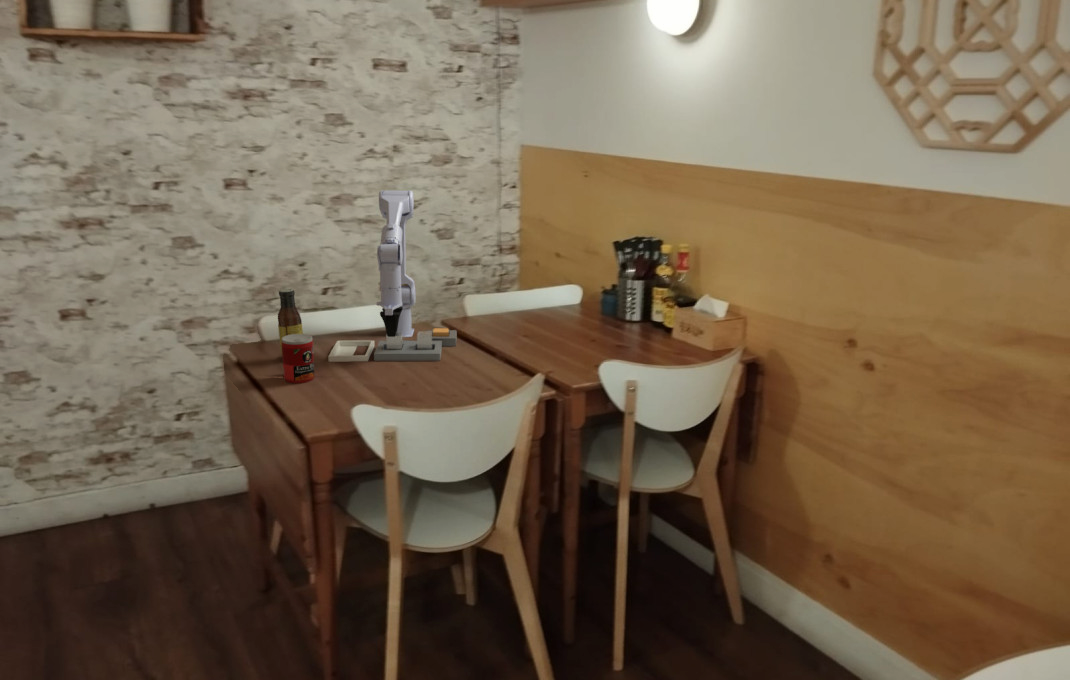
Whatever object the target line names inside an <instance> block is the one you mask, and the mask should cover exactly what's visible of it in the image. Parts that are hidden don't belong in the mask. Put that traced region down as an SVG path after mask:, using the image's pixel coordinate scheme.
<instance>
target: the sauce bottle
mask: <svg viewBox="0 0 1070 680" xmlns="http://www.w3.org/2000/svg"><path fill="white" fill-rule="evenodd" d="M278 296H279V299H280V300H279V301H280V307H279V310H278V313H277V322H278V323H277V324H278V325H277V326H278V328H277V329H278V336H279V345H280V354H281V357H282V343H281V340H282V337H284V336H287V335H292V334H304V331H303V323H302V322H303V321H302V316H301V314H300V312H299V311H298V309H297V306H296V303H295V301H296V300H295V289H292V288H283V289H279V290H278ZM281 360H283V358H282V359H281Z"/></svg>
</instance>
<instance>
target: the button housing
mask: <svg viewBox="0 0 1070 680" xmlns="http://www.w3.org/2000/svg"><path fill="white" fill-rule="evenodd" d="M433 330H434V329H432V330H429V329H428V330H426V331H432V341H442V347H456V346H457V340H458V339H457V337H458V336H457V333H458V332H457V329H452V330H451V329H449V337H433Z"/></svg>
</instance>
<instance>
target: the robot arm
mask: <svg viewBox="0 0 1070 680" xmlns="http://www.w3.org/2000/svg"><path fill="white" fill-rule="evenodd" d="M414 200H415V199H414V192H413V191H412V190H411V189H409V190H385V189H384V190H383V189H380V191H379V193H378V208H379V211H380V214H381V216H382V218H383V219H385V220H386V225H384V226H383V227H382V228H381V235H380V245H377V251H376V254H377V255H376V257H377V263H378V271H379V278H380V279H379V286H380V287H379V288H380V301H377V302H376V306H378V307H382V308H381V309H382V311H380V312H379V315H380V318H381V319H382V322H383V325H384V327H385V328H384V329H385V332H386V333H385V337H386V338H387V336H388V337H395V335H396V332H402V338H405V337H406V338H409V337H411V338H412V337H413V335H414V333H415V328H412V327H413V325H412V306H415V304H416V291H417V290H416V283H415V281H414V279H413V278H412V277H410V276H409V275H407V269H406V268H407V264H406V263H407V261H406V260H407V259H406V252H407V251H406V244H407V243H406V225H407V222H408V221H409V220H411V219H412V218H413V216H414V203H415V202H414Z"/></svg>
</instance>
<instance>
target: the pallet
mask: <svg viewBox="0 0 1070 680" xmlns="http://www.w3.org/2000/svg"><path fill="white" fill-rule="evenodd" d="M432 348H433V350H417V340H403V348H402V350H387V340H378V343H377V346H376V348H375V349H374V353H373V361H374V362H408V361H409V362H410V361H412V362H418V361H419V362H420V361H421V362H425V361H427V362H429V361H430V362H432V361H433V362H438V361H439V362H441V356H442V350H443V346H442V341H432Z"/></svg>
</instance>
